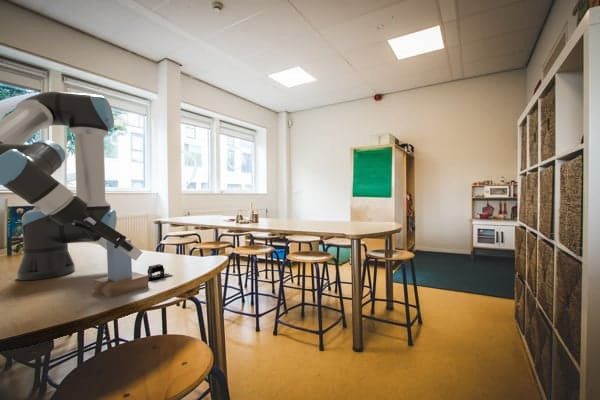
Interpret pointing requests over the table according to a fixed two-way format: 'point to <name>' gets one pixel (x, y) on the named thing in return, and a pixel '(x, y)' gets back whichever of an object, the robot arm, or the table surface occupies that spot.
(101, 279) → the base block
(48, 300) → the table surface
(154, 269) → the black piece
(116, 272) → the tower block
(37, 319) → the table surface
